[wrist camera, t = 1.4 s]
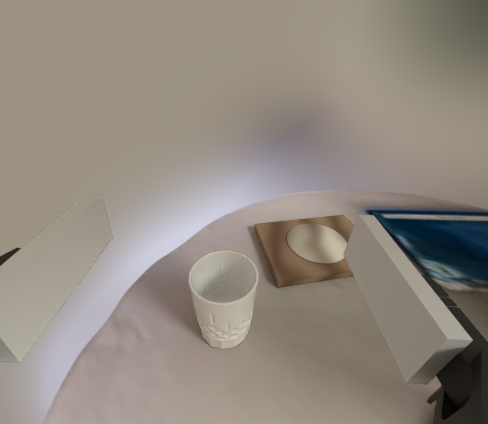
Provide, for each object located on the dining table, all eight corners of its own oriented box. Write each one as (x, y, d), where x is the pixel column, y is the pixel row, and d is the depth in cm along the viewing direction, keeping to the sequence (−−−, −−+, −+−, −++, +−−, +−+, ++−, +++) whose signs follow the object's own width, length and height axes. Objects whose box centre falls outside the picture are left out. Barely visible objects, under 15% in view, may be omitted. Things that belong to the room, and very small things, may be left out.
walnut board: (341, 220, 54) (343, 213, 53) (387, 270, 42) (391, 263, 41) (254, 229, 51) (255, 222, 50) (277, 287, 39) (278, 280, 38)
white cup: (253, 356, 30) (258, 306, 24) (189, 352, 30) (180, 301, 25) (254, 301, 37) (258, 251, 31) (201, 298, 37) (196, 248, 31)
